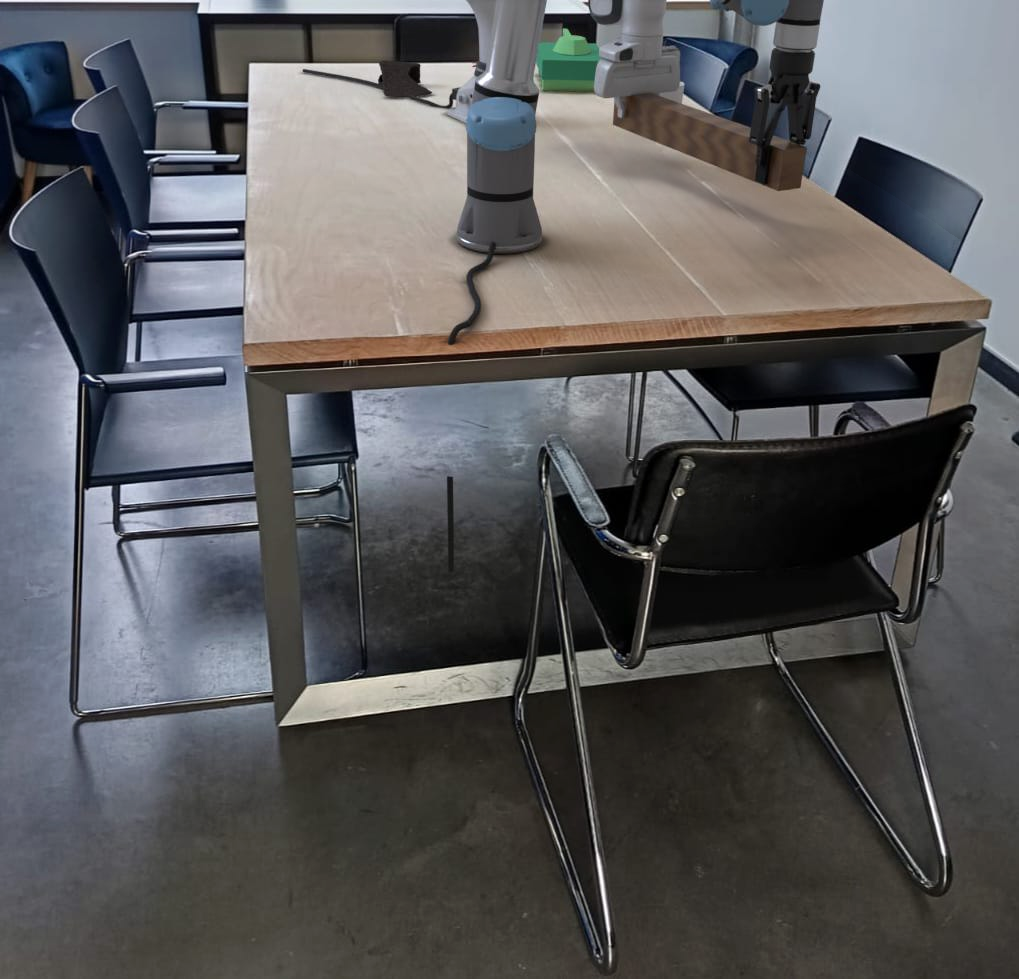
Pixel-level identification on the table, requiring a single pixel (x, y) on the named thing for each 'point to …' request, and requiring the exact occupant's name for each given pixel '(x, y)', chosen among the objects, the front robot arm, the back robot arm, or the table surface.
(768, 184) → the post
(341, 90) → the table surface
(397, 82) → the axe head
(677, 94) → the mug
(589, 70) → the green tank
